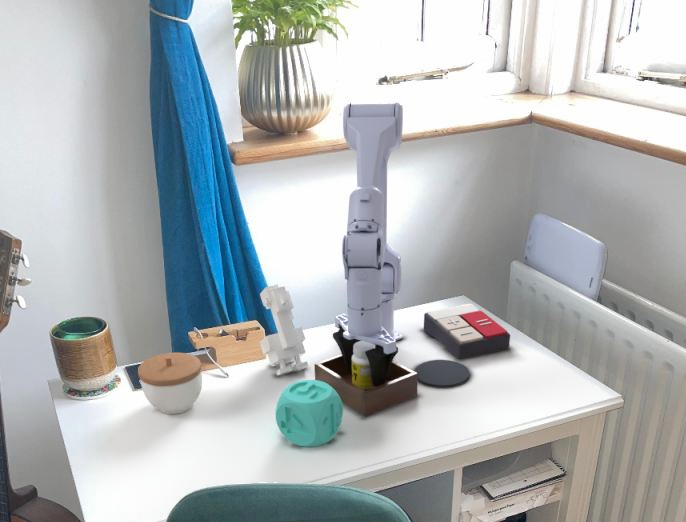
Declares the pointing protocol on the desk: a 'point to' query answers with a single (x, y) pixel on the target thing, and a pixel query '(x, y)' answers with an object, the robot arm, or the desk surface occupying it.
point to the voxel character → (282, 331)
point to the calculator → (466, 331)
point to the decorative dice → (309, 413)
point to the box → (368, 402)
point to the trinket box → (171, 381)
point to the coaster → (442, 373)
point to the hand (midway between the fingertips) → (365, 376)
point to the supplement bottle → (361, 366)
